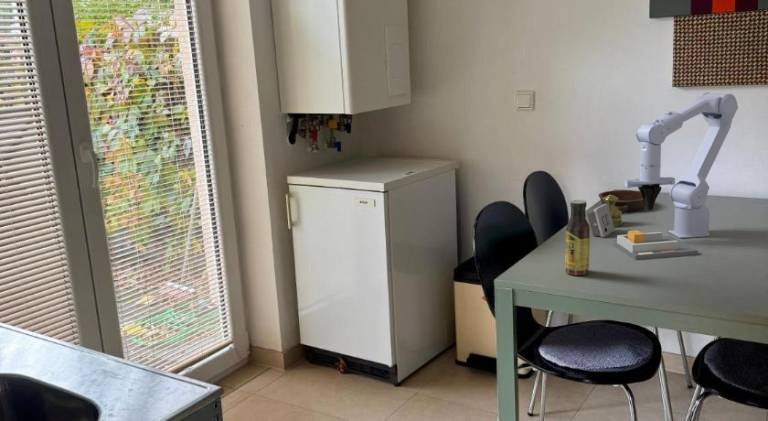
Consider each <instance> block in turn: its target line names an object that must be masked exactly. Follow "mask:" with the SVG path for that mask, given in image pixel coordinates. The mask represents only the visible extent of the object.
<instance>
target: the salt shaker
mask: <svg viewBox="0 0 768 421" xmlns="http://www.w3.org/2000/svg"><path fill="white" fill-rule="evenodd" d="M603 201H605V203H606V204H608V207H609V211H610V214H611V218H612V221H613V225H614V228H618V227H621V226H622V224H623V222H622V221H623V218H622V215H623V212H621V211H620V210H619V209H618V208H617V207H616V206H615V203H616V202H617V201H618V198H617V197H615V196H613V195H608V196H606V197H604V198H603Z"/></svg>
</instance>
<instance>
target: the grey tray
mask: <svg viewBox="0 0 768 421" xmlns="http://www.w3.org/2000/svg"><path fill="white" fill-rule="evenodd" d="M643 233H644V234H645V236H644V243H638V244H635V243H633V242H631V241H630V240H628V233H627V234H617V238H616V239H615V240H612V246H614V247H616V248H617V249H619V250H620V251H622V252H623V253H625V254H626V255H628V256H629V257H630V258H632V259H633V260H635V261H636V260H637V261H638V260H649V259H650V258H651V259H661V257H663V258H673V257H686V256H697V255H698V254H699V253H698V252H699V251H698V249H696V248H694V247H692V246H690V245H688V244H687V243H685V242H683V241H681V240H679V239H678V238H675V237H673V236H672V235H666V236H664V235H663V232H662V231H653V232H643Z"/></svg>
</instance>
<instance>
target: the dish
mask: <svg viewBox="0 0 768 421" xmlns="http://www.w3.org/2000/svg"><path fill="white" fill-rule="evenodd" d="M608 195H613V196H615V197H617V198H618V201H617V202H616V203H615V206H616V207H617V208H618V209H619V210H620V211H621V212H622V213H624V212H634V211H635V212H636V211H639V210H643V209H644V208H645V204H644V200H643V197H642V195H641V193H640V191H639V190H632V189H631V190H630V189H629V190H628V189H620V190H616V189H615V190H607V191H604V192H600V193H599V194H598V197H599V199H600V201H601V204H602V205H603V204H606V203H605V201H603V198H604V197H606V196H608Z"/></svg>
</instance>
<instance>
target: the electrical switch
mask: <svg viewBox="0 0 768 421" xmlns="http://www.w3.org/2000/svg"><path fill="white" fill-rule="evenodd" d="M586 217H587V218H588V224H589V227H590V230H591V233H592V237H599V236H600V237H601V239H603V238H605V237H606V238H607V237H608V236H609V235H611V234H612V233H614V232H615V227H614V225H613V221H612V218H611V214H610V211H609V207H608V204H603V205H599V206H598V207H595V208H594V209H592V210H590V211H588V212H586Z"/></svg>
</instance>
